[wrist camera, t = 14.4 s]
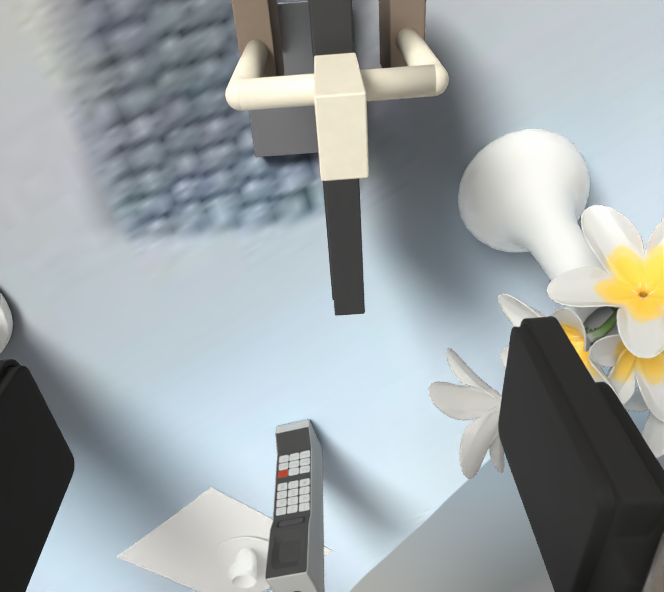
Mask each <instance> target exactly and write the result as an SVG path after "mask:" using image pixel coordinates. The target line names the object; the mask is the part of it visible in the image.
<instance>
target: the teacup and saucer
mask: <svg viewBox="0 0 664 592" xmlns="http://www.w3.org/2000/svg"><path fill="white" fill-rule="evenodd" d="M268 543H269V541H267V540H265V539H262V538H259V537H254V536H239V537H234V538H230V539H228V540H226V541H224V542H222V543H221V544H220V545H219V546H218V547H217V549H216V558H217V560H218V561H219V562H220V563H221V564H222V565H223V566H225V567H227V568H228V570H227V578H228V579H229V580H230V581H231V584H232V585H233V586H234V587H236V588H239V589H250V588H253V587H254V586H256V585H257V583H258V571H262V570H265V569H266V561H267V552H268Z"/></svg>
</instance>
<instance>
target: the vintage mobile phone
mask: <svg viewBox="0 0 664 592" xmlns="http://www.w3.org/2000/svg"><path fill="white" fill-rule="evenodd" d="M275 436H276V447H277V464H276V479H275V494H274V509H273V522H272V525H271V528H270V533H269V543H268V552H267V561H266V570H265V580H266V581H267V583H268V584H269V586H270V587H271V589H272V590H273V592H324V529H323V454H322V447H321V445H320V443H319V440H318V438H317V436H316V434H315V431H314V429H313V427H312V425H311V422H310V420H308V419H307V420H302V421H298V422H293V423H288V424H284V425H279V426H277V427H276V431H275Z"/></svg>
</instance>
